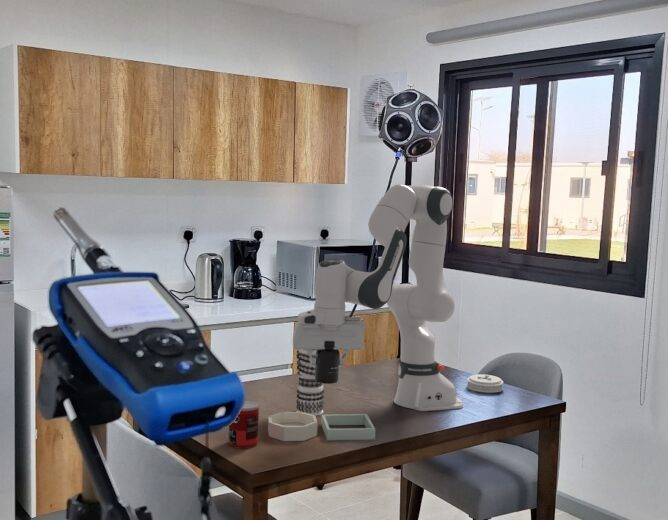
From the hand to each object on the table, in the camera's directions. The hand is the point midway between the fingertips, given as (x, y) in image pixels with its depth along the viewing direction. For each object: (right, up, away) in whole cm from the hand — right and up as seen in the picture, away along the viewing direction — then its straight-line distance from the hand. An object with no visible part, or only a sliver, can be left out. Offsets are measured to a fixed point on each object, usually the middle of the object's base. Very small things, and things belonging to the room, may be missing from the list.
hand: (327, 364), depth 209 cm
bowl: (-10, -20, +1) cm, 22 cm away
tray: (+6, -20, +3) cm, 21 cm away
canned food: (-23, -21, -9) cm, 32 cm away
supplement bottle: (0, -5, 0) cm, 5 cm away
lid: (+56, -17, +53) cm, 78 cm away
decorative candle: (-6, -18, +21) cm, 28 cm away
